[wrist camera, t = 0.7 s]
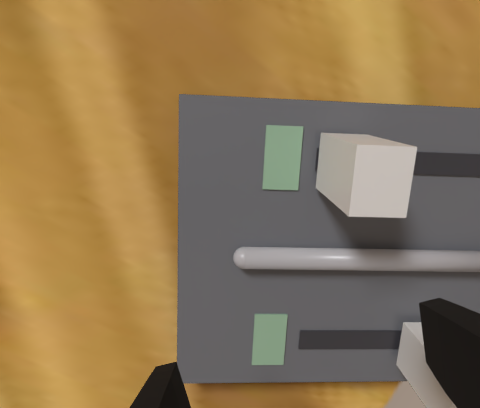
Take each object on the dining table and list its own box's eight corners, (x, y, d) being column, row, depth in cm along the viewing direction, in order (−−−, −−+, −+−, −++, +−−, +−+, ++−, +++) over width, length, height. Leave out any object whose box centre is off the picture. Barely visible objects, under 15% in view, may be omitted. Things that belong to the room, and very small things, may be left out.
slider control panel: (584, 113, 20) (646, 116, 17) (522, 356, 24) (565, 392, 21) (182, 94, 19) (177, 94, 16) (179, 358, 22) (175, 397, 19)
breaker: (366, 134, 17) (417, 146, 13) (359, 189, 18) (406, 217, 14) (321, 132, 17) (357, 144, 13) (315, 188, 18) (348, 216, 14)
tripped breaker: (442, 322, 20) (504, 383, 16) (434, 364, 21) (492, 433, 16) (403, 322, 20) (455, 383, 16) (396, 364, 21) (444, 434, 16)
